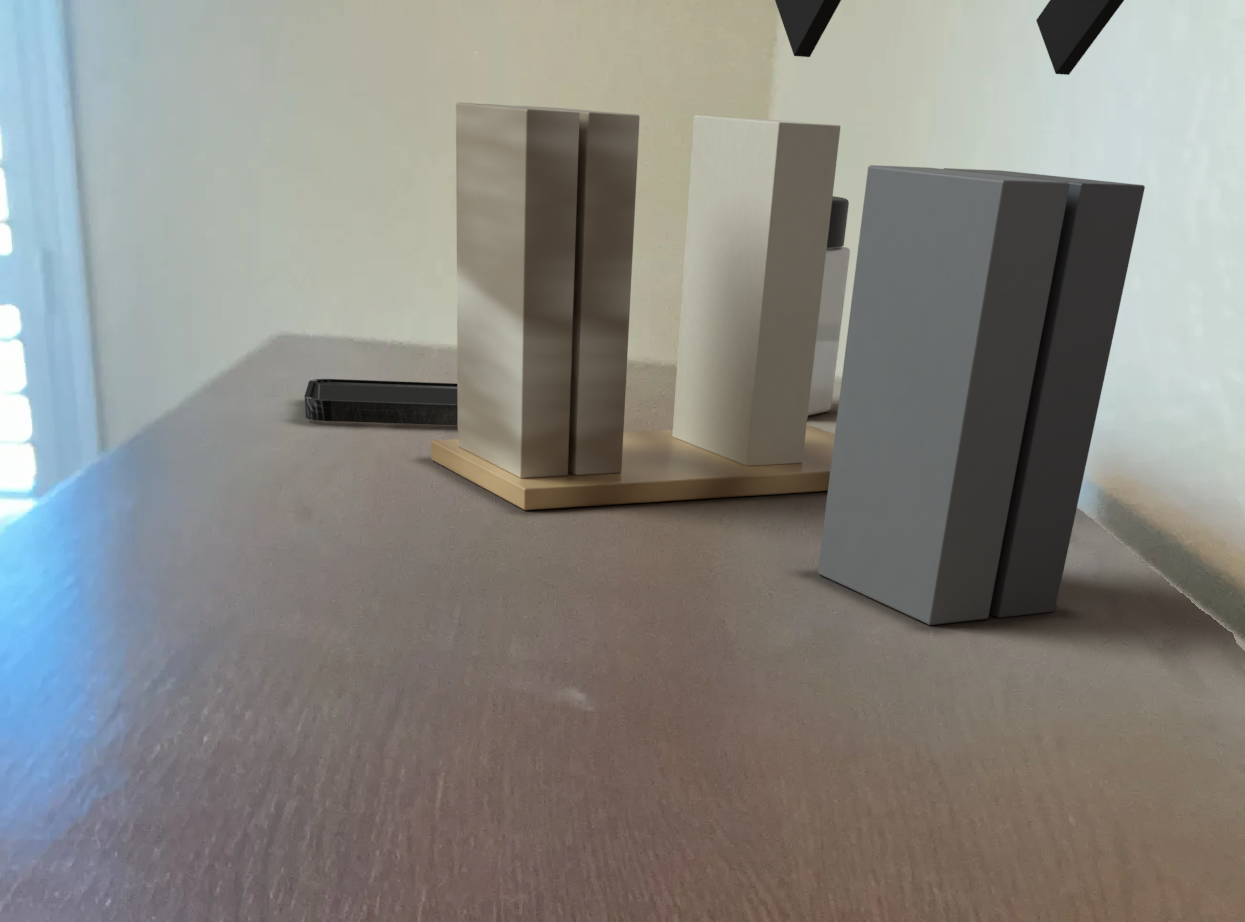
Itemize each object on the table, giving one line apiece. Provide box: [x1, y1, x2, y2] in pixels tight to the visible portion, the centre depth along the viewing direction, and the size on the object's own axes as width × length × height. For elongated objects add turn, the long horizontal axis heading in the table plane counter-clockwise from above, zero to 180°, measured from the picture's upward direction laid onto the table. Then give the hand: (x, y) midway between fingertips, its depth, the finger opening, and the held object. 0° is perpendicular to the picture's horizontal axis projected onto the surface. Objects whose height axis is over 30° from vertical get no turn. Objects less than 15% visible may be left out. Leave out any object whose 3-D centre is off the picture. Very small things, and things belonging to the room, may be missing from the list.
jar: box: [808, 195, 851, 417], centre depth 98 cm, size 9×8×12 cm
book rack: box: [430, 102, 835, 511], centre depth 78 cm, size 24×12×16 cm, turn 117°
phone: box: [303, 378, 458, 427], centre depth 92 cm, size 8×1×15 cm
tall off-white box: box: [672, 114, 841, 466], centre depth 79 cm, size 4×8×15 cm, turn 27°
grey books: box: [817, 164, 1146, 626], centre depth 60 cm, size 6×8×15 cm
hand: (927, 39), depth 64 cm, fingers open, 13 cm apart
